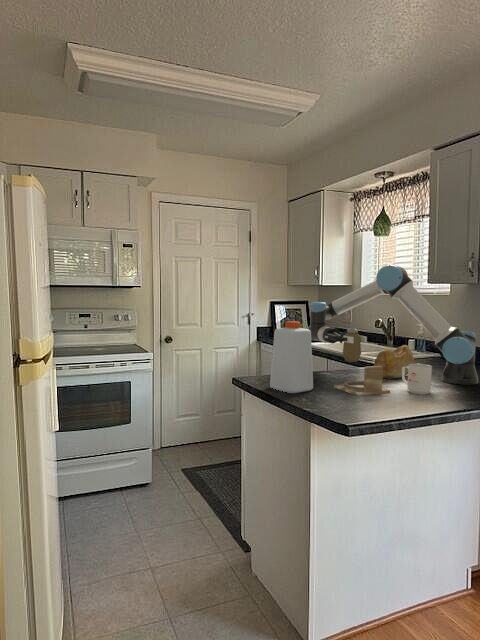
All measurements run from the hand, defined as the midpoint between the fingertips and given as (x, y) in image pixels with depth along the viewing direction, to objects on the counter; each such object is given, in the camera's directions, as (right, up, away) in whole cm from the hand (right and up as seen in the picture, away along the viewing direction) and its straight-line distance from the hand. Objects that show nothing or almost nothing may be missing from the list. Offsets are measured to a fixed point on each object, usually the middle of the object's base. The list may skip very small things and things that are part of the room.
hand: (359, 339), depth 196 cm
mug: (+20, -21, -12) cm, 31 cm away
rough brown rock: (+21, -19, +22) cm, 36 cm away
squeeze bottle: (-2, -10, +5) cm, 11 cm away
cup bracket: (-2, -20, -10) cm, 23 cm away
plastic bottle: (-31, -20, -10) cm, 38 cm away
